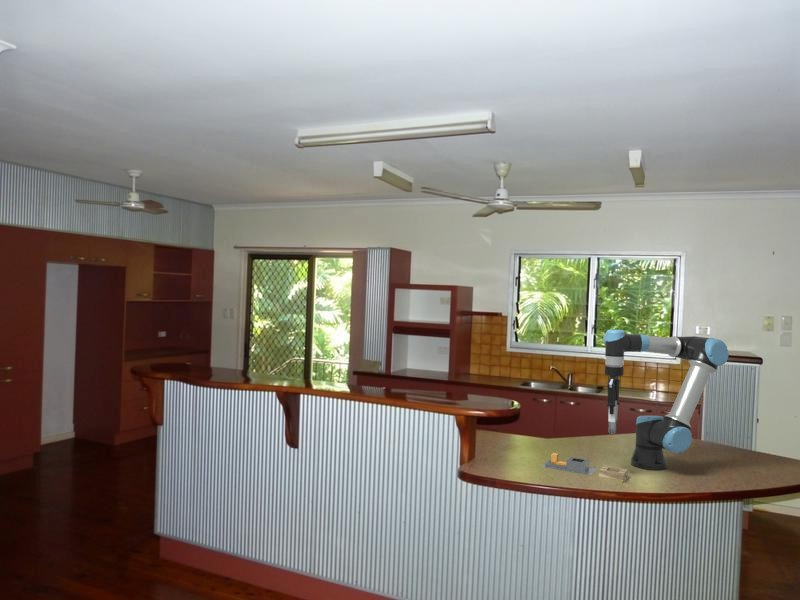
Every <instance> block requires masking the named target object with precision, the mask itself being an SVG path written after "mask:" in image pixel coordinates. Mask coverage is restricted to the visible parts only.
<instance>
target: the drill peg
mask: <svg viewBox="0 0 800 600" xmlns="http://www.w3.org/2000/svg"><path fill="white" fill-rule="evenodd" d="M615 407H616V414H615V422H609V421H608V434H610V435H616V434H617V422H618V408H617V400H615Z"/></svg>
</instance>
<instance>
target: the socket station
mask: <svg viewBox="0 0 800 600" xmlns="http://www.w3.org/2000/svg"><path fill="white" fill-rule="evenodd" d="M565 462H566V466H564V465H558V464H551V459H550V460H547V461H545V462H544V463H543V464H542V465H540V466H539V468H544V469H548V470H549V469H550V470H554V471H555V470H556V471H561V472H568V473H573V474H574V473H575V474H579V475H586V476H592V475H593V474H594V473H595V472H596V471H597V468H594V467H590V459H588V458H581V457H575V456H570V457H569V458H568V459H566V461H565Z"/></svg>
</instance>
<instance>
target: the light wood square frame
mask: <svg viewBox="0 0 800 600" xmlns="http://www.w3.org/2000/svg"><path fill="white" fill-rule="evenodd" d="M628 474H629V469H628V468H623V467H617V466H612V465H611V466H610V465H602V467H600V469H598V477H601V478H607V479H613V480H620V481H622V482H621V483H622V484H625V482H626V480H627V479H628Z"/></svg>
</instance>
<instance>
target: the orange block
mask: <svg viewBox="0 0 800 600" xmlns="http://www.w3.org/2000/svg"><path fill="white" fill-rule="evenodd" d="M550 456H551V457H550V460H551V464H558V465H564V466H566V461H561V460H559V453H556V452H553V453H551V455H550Z"/></svg>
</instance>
